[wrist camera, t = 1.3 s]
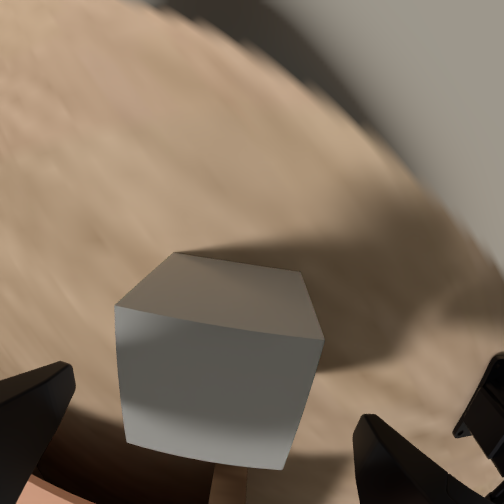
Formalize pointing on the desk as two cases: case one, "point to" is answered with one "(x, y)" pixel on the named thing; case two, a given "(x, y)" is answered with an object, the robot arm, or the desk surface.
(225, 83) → the desk surface
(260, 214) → the desk surface
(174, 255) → the gray cube
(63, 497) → the trapdoor
